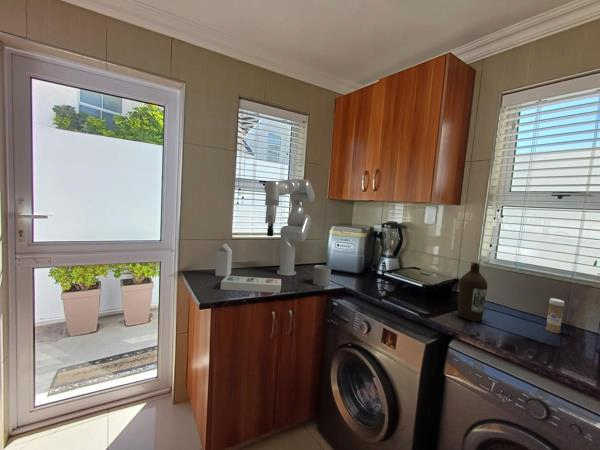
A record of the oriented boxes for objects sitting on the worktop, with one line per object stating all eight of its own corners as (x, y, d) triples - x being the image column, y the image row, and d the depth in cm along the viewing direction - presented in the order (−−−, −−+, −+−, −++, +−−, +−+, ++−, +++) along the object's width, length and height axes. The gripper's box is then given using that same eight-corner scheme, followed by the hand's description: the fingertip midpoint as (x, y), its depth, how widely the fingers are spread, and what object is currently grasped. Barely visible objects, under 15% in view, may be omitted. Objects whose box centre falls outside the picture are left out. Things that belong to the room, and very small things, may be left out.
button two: (229, 284, 151) (230, 276, 151) (238, 284, 151) (239, 276, 151) (227, 287, 146) (227, 278, 146) (236, 287, 146) (237, 279, 146)
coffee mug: (327, 287, 160) (328, 269, 159) (310, 284, 163) (311, 267, 162) (332, 281, 172) (334, 265, 171) (317, 279, 176) (318, 263, 175)
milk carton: (230, 274, 174) (232, 243, 172) (226, 277, 167) (228, 245, 165) (219, 273, 174) (221, 242, 173) (215, 275, 167) (216, 244, 166)
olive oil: (450, 313, 131) (456, 260, 129) (469, 312, 133) (475, 260, 131) (469, 322, 120) (475, 265, 119) (489, 322, 123) (496, 265, 121)
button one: (266, 286, 152) (267, 278, 151) (275, 287, 152) (276, 279, 151) (265, 289, 147) (266, 281, 146) (275, 290, 147) (275, 281, 146)
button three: (248, 285, 151) (248, 277, 151) (257, 286, 151) (257, 278, 151) (246, 288, 146) (246, 279, 146) (256, 288, 146) (256, 280, 146)
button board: (226, 282, 155) (226, 275, 154) (280, 286, 155) (281, 279, 155) (220, 289, 143) (221, 281, 142) (279, 293, 143) (280, 285, 143)
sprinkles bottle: (545, 331, 117) (549, 299, 116) (545, 327, 120) (549, 297, 119) (560, 334, 114) (565, 302, 113) (560, 331, 117) (564, 300, 116)
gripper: (266, 202, 163) (264, 234, 165) (263, 202, 148) (261, 237, 150) (279, 203, 163) (277, 235, 165) (277, 203, 149) (275, 238, 150)
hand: (270, 235), depth 157 cm, fingers closed
